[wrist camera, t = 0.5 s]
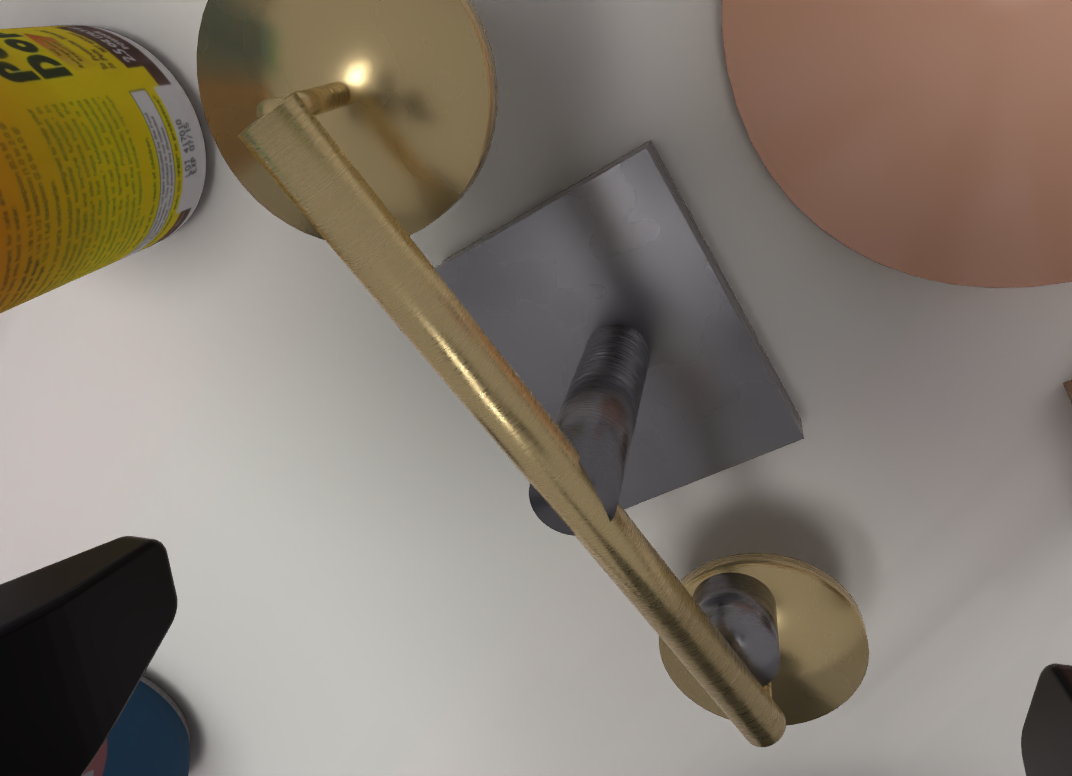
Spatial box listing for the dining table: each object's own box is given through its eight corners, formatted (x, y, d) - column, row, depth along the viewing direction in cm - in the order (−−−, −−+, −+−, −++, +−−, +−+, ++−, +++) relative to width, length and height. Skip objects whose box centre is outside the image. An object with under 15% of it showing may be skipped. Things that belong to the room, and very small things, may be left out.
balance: (899, 602, 23) (992, 951, 15) (702, 662, 26) (687, 991, 17) (505, -128, 18) (300, -227, 9) (298, 33, 20) (-13, 71, 12)
